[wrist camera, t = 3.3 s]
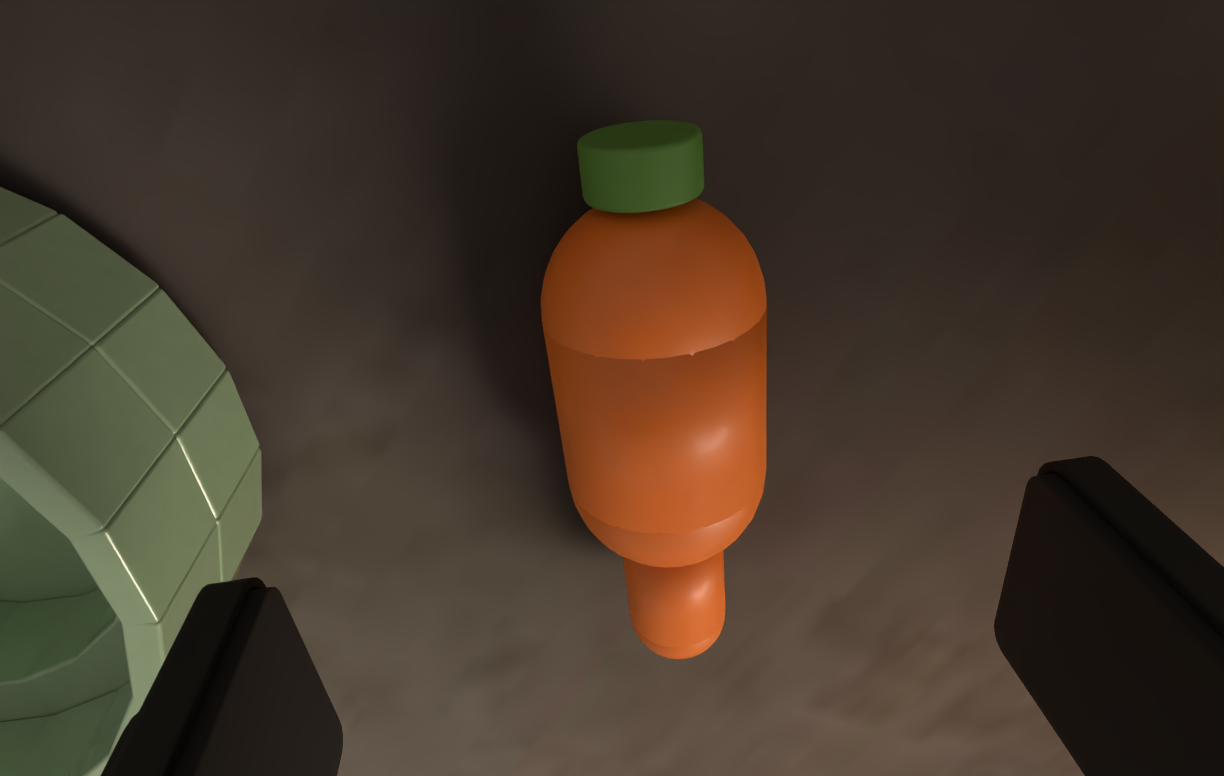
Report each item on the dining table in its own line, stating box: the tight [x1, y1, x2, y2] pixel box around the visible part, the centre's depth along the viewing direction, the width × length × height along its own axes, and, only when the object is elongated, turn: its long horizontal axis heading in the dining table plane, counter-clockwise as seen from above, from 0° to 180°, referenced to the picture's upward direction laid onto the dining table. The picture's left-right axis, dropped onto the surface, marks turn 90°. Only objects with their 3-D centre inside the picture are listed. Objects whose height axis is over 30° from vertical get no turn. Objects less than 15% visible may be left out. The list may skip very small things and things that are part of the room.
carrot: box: [541, 120, 767, 659], centre depth 15 cm, size 12×4×4 cm, turn 6°
